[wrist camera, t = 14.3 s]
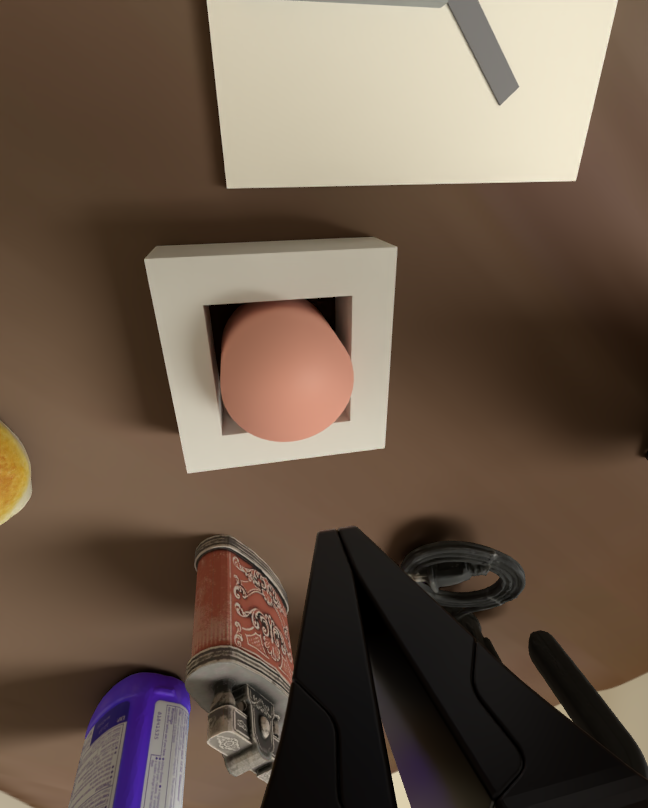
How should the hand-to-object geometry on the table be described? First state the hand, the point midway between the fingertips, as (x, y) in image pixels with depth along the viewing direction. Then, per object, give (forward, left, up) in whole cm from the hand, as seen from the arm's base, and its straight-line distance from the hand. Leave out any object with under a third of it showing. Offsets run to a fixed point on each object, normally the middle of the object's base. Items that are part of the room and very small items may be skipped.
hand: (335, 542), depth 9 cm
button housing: (0, 0, -12) cm, 12 cm away
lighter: (+3, +15, -13) cm, 20 cm away
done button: (0, 0, -12) cm, 12 cm away
